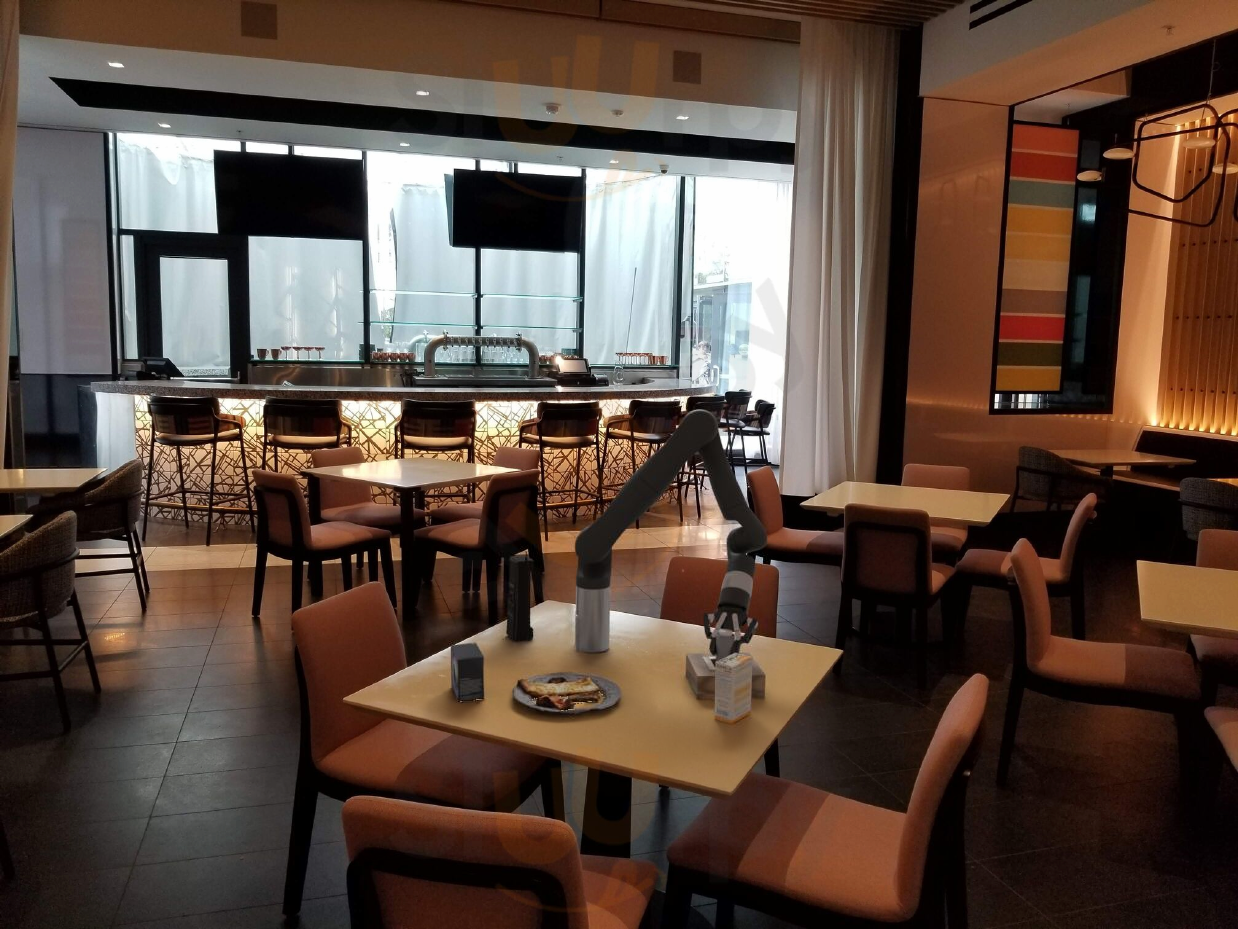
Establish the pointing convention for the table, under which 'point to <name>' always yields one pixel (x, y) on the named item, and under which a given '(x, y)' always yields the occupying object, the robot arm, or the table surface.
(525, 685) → the food plate
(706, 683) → the socket block
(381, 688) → the table surface
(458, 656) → the small box
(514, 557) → the portable radio
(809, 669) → the table surface
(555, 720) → the table surface
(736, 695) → the supplement box
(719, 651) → the grey bottle
